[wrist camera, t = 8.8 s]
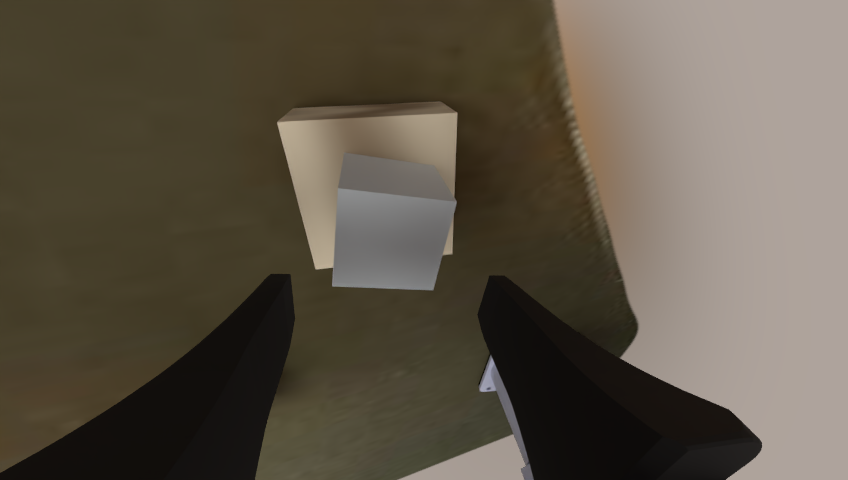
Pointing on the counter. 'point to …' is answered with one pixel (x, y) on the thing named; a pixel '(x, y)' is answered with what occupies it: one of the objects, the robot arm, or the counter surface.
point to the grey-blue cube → (390, 223)
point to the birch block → (364, 135)
